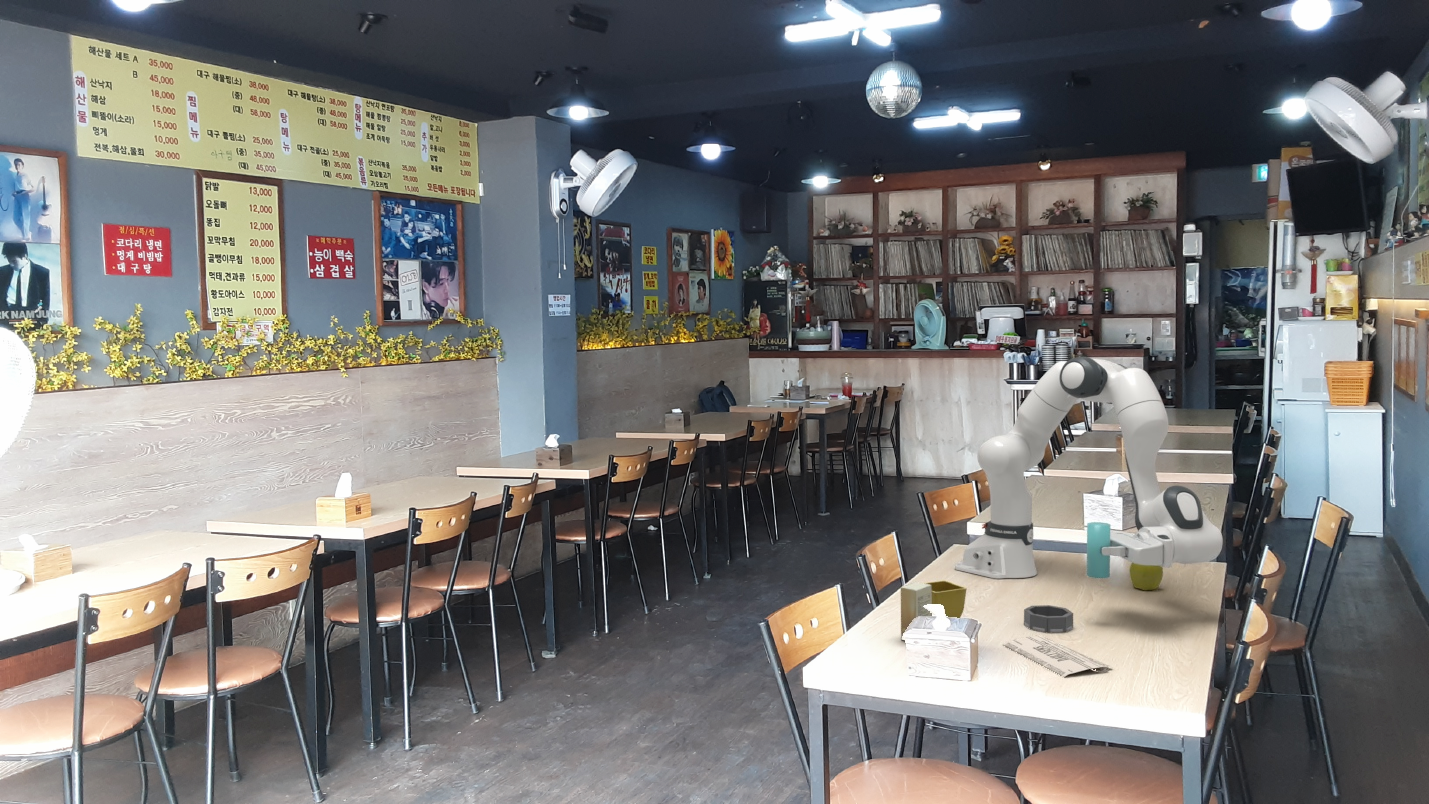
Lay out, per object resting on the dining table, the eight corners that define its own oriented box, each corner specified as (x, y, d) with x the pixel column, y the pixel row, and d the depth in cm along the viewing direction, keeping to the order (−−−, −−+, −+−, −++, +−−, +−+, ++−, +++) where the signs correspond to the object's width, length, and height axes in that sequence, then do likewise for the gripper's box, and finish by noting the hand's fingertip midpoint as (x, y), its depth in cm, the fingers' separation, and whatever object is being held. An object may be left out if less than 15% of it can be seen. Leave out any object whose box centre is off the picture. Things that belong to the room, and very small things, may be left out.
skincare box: (916, 634, 235) (916, 581, 234) (932, 638, 232) (932, 584, 231) (899, 640, 230) (899, 586, 229) (915, 644, 227) (916, 589, 226)
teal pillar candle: (1083, 576, 240) (1083, 524, 239) (1091, 572, 244) (1092, 521, 243) (1104, 579, 236) (1105, 527, 236) (1113, 575, 240) (1113, 523, 239)
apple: (1128, 578, 278) (1141, 545, 275) (1159, 591, 274) (1171, 557, 271) (1121, 585, 271) (1133, 550, 269) (1151, 598, 267) (1164, 563, 265)
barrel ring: (1016, 627, 239) (1017, 612, 239) (1036, 617, 247) (1036, 602, 247) (1060, 635, 232) (1060, 620, 232) (1079, 625, 240) (1079, 610, 240)
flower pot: (913, 621, 245) (913, 583, 244) (944, 616, 248) (944, 579, 248) (935, 631, 237) (935, 592, 236) (967, 626, 240) (967, 588, 240)
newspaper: (1116, 674, 209) (1115, 662, 208) (1064, 687, 205) (1063, 675, 205) (1049, 640, 230) (1048, 629, 230) (1000, 652, 227) (999, 641, 227)
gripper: (1129, 523, 251) (1074, 525, 249) (1175, 541, 231) (1116, 543, 229) (1129, 549, 251) (1074, 551, 250) (1175, 569, 231) (1115, 571, 230)
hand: (1094, 547), depth 239 cm, fingers closed on teal pillar candle, 5 cm apart
